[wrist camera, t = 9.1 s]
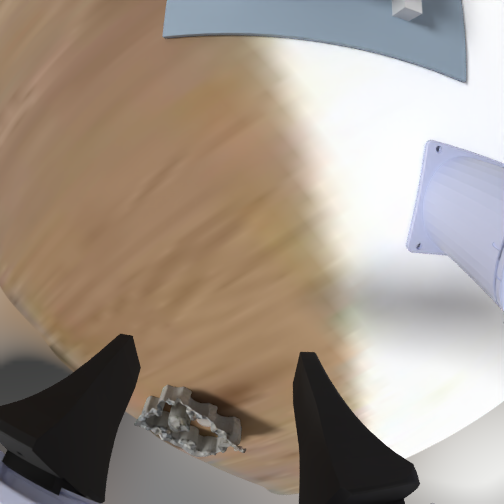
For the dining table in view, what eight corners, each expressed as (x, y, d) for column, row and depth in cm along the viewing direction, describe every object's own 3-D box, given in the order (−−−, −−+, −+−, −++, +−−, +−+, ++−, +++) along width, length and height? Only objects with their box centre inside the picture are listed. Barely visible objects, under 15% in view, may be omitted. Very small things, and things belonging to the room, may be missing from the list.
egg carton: (252, 423, 29) (251, 453, 26) (207, 439, 32) (203, 466, 28) (178, 375, 26) (168, 408, 22) (137, 398, 28) (127, 426, 25)
